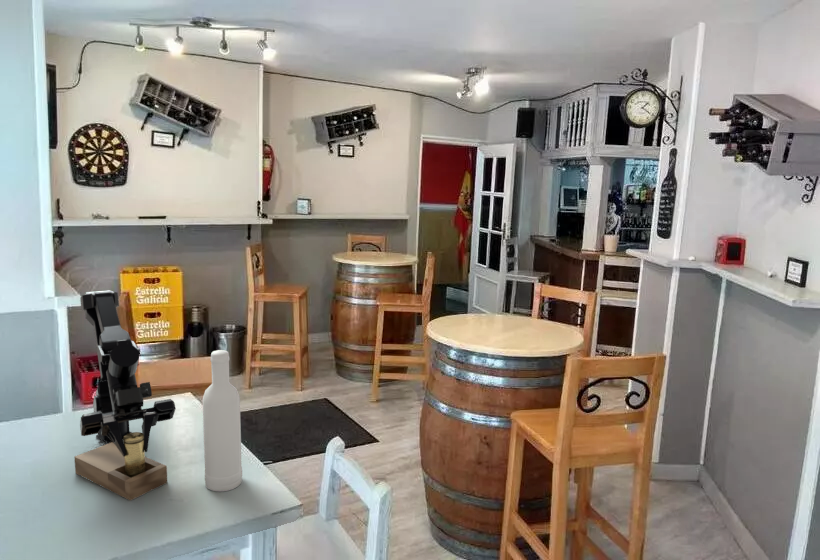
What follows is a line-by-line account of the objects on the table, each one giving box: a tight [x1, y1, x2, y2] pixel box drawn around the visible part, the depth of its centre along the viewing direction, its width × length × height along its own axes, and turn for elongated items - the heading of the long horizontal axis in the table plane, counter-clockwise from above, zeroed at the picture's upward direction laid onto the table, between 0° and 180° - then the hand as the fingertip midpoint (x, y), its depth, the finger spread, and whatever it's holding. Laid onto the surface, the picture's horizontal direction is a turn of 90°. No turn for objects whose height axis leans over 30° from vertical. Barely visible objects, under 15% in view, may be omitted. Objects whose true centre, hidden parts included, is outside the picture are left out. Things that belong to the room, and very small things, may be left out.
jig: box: [73, 442, 168, 501], centre depth 139 cm, size 9×20×4 cm, turn 58°
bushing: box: [122, 431, 146, 478], centre depth 135 cm, size 4×4×10 cm
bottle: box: [201, 349, 243, 492], centre depth 136 cm, size 8×8×30 cm
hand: (135, 453), depth 134 cm, fingers closed on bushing, 4 cm apart
